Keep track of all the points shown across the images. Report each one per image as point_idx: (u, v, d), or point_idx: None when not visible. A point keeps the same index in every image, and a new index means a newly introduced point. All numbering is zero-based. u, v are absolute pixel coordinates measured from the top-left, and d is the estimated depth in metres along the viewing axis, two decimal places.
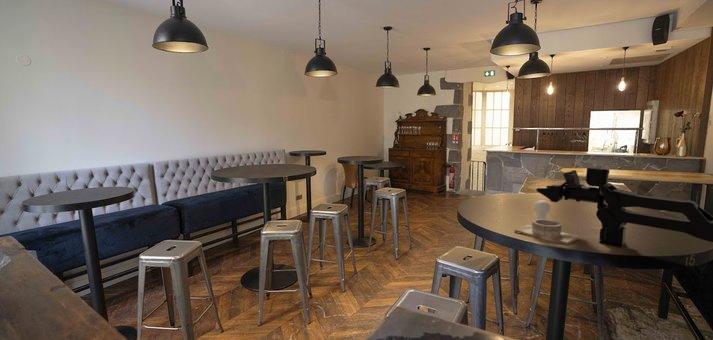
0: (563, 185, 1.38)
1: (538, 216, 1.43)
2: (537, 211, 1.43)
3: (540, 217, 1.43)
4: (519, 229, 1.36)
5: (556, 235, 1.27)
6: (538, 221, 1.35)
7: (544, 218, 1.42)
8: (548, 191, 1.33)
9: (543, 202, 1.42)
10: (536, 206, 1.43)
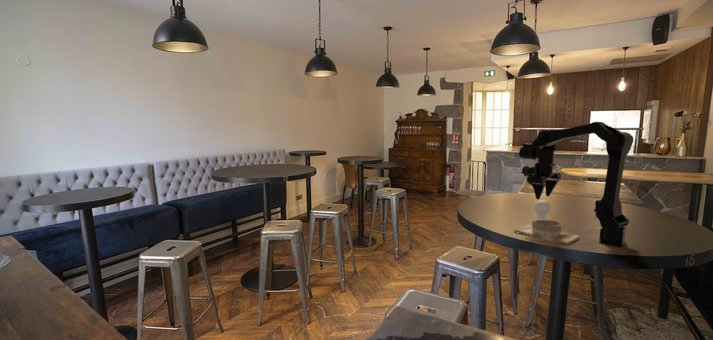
0: (545, 181, 1.46)
1: (538, 216, 1.43)
2: (537, 211, 1.43)
3: (540, 217, 1.43)
4: (519, 229, 1.36)
5: (556, 235, 1.27)
6: (538, 221, 1.35)
7: (544, 218, 1.42)
8: (537, 187, 1.39)
9: (543, 202, 1.42)
10: (536, 206, 1.43)
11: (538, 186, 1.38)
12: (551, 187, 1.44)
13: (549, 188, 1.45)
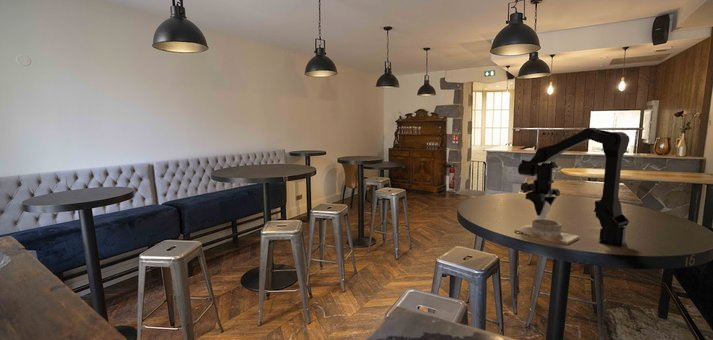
0: None
1: (538, 216, 1.43)
2: None
3: (540, 217, 1.43)
4: (519, 229, 1.36)
5: (556, 235, 1.27)
6: (538, 221, 1.35)
7: (544, 218, 1.42)
8: (537, 204, 1.41)
9: None
10: None
11: (539, 202, 1.40)
12: None
13: None
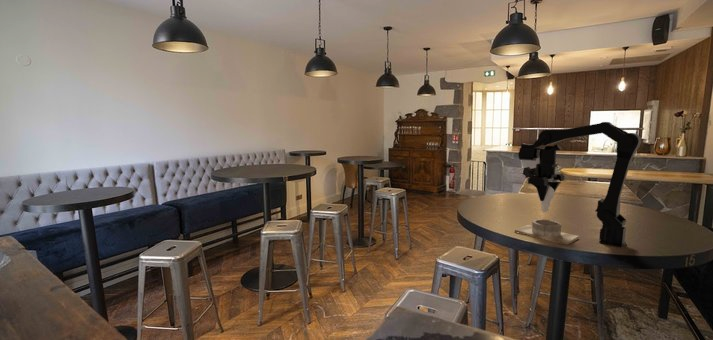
0: None
1: (541, 202, 1.37)
2: None
3: (544, 203, 1.36)
4: (519, 229, 1.36)
5: (556, 235, 1.27)
6: (538, 221, 1.35)
7: (548, 204, 1.36)
8: (540, 188, 1.34)
9: None
10: None
11: (542, 187, 1.34)
12: None
13: None
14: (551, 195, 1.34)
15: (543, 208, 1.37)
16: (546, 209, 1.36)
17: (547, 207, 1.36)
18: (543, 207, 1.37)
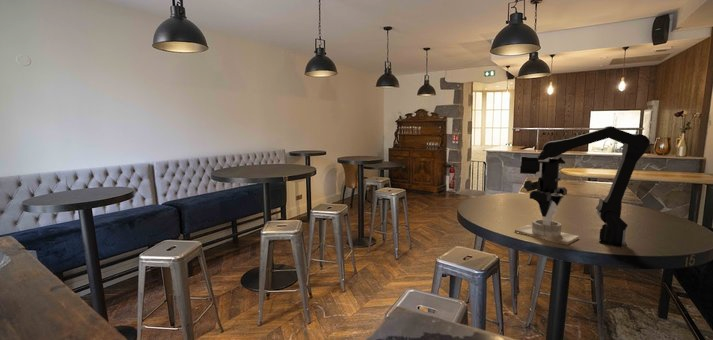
0: None
1: (543, 217, 1.30)
2: None
3: (546, 218, 1.30)
4: (519, 229, 1.36)
5: (556, 235, 1.27)
6: (538, 221, 1.35)
7: (550, 219, 1.29)
8: (542, 203, 1.27)
9: None
10: None
11: (544, 202, 1.27)
12: (555, 203, 1.31)
13: None
14: (554, 210, 1.27)
15: (545, 224, 1.30)
16: None
17: (549, 223, 1.30)
18: (545, 223, 1.30)
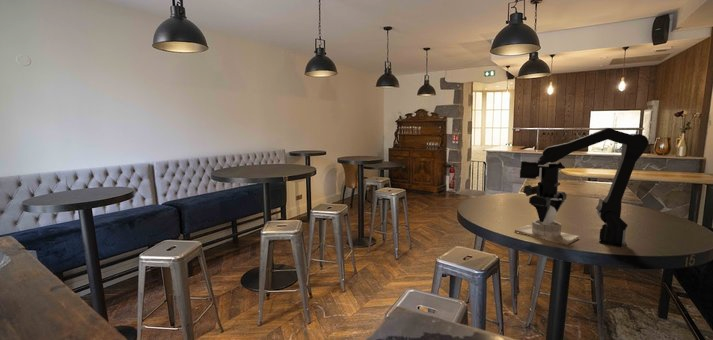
0: None
1: (543, 222, 1.31)
2: None
3: (545, 223, 1.30)
4: (519, 229, 1.36)
5: (556, 235, 1.27)
6: (538, 221, 1.35)
7: (549, 225, 1.30)
8: (540, 209, 1.27)
9: None
10: None
11: (542, 208, 1.26)
12: (556, 207, 1.32)
13: None
14: (553, 216, 1.28)
15: None
16: None
17: None
18: None
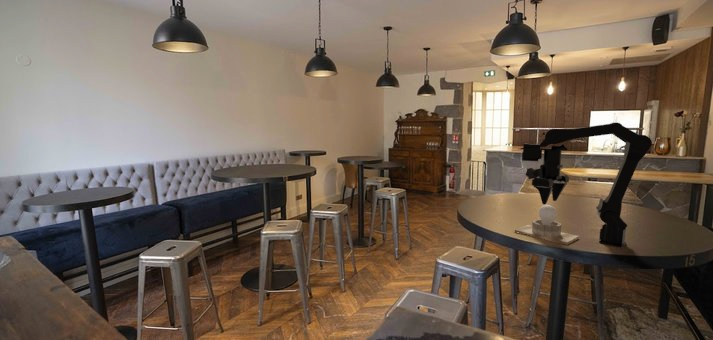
0: None
1: (543, 222, 1.31)
2: (542, 217, 1.30)
3: (545, 223, 1.30)
4: (519, 229, 1.36)
5: (556, 235, 1.27)
6: (538, 221, 1.35)
7: (549, 225, 1.30)
8: (543, 191, 1.26)
9: (548, 207, 1.29)
10: (541, 211, 1.30)
11: (544, 190, 1.26)
12: (558, 190, 1.32)
13: (556, 192, 1.33)
14: (553, 216, 1.28)
15: None
16: None
17: None
18: None
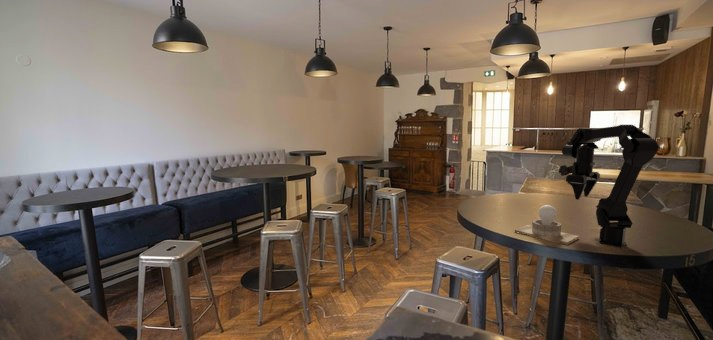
0: None
1: (543, 222, 1.31)
2: (542, 217, 1.30)
3: (545, 223, 1.30)
4: (519, 229, 1.36)
5: (556, 235, 1.27)
6: (538, 221, 1.35)
7: (549, 225, 1.30)
8: (576, 187, 1.34)
9: (548, 207, 1.29)
10: (541, 211, 1.30)
11: (578, 186, 1.33)
12: (590, 186, 1.39)
13: (587, 188, 1.40)
14: (553, 216, 1.28)
15: None
16: None
17: None
18: None
